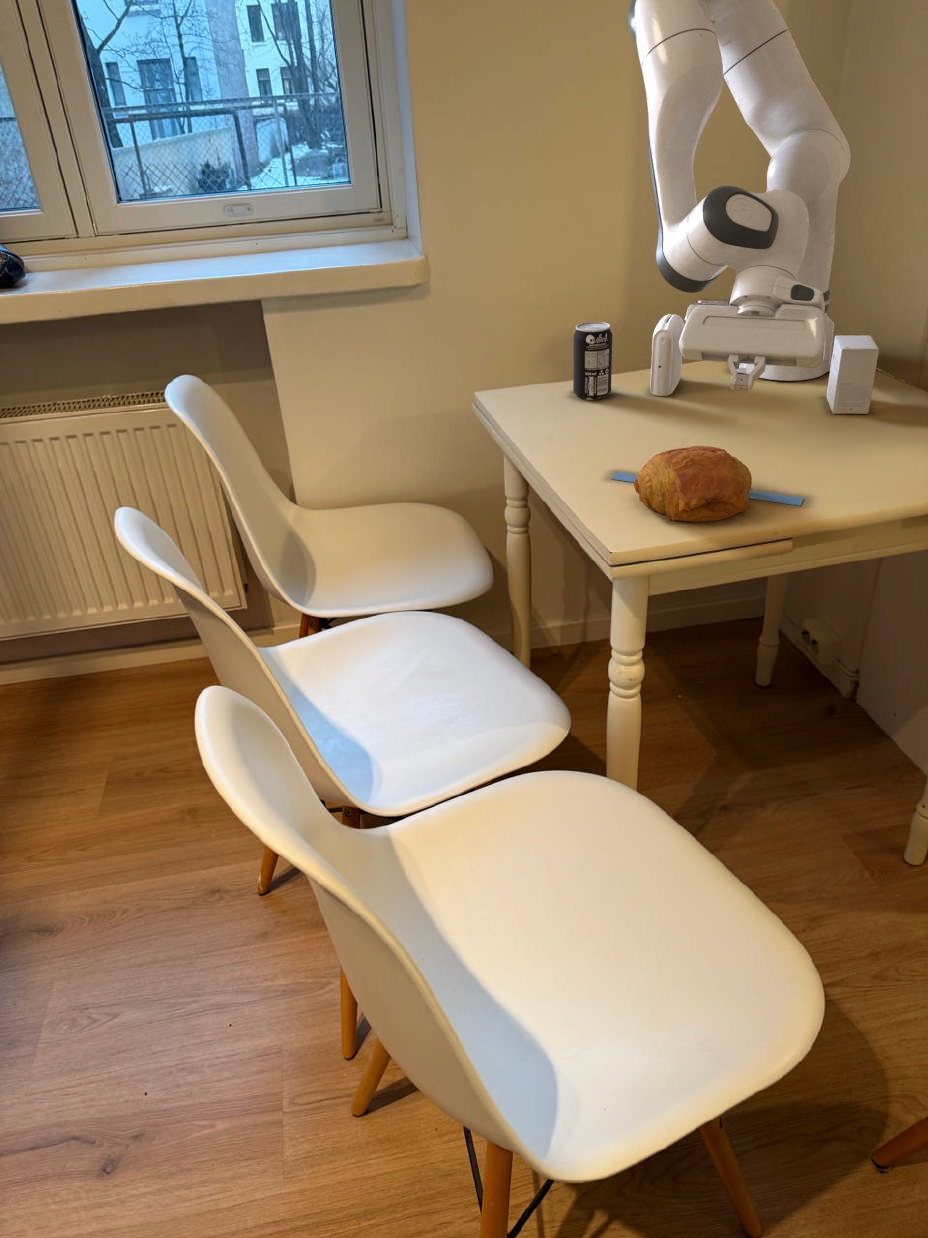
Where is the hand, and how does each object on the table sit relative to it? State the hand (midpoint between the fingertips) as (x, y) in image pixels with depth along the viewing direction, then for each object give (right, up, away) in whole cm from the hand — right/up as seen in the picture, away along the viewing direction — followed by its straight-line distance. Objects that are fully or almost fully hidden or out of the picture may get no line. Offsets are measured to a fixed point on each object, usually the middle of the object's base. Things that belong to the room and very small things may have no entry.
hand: (740, 388), depth 133 cm
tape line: (-6, -15, -4) cm, 17 cm away
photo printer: (-4, +8, +33) cm, 34 cm away
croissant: (-9, -17, -8) cm, 21 cm away
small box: (+23, +2, +20) cm, 30 cm away
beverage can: (-17, +6, +32) cm, 36 cm away
